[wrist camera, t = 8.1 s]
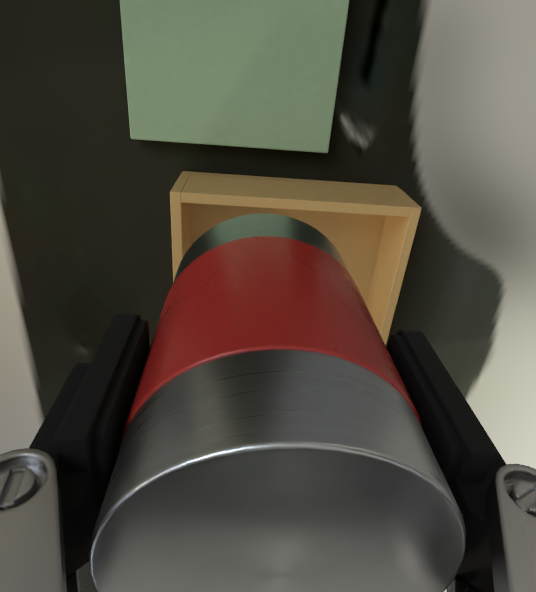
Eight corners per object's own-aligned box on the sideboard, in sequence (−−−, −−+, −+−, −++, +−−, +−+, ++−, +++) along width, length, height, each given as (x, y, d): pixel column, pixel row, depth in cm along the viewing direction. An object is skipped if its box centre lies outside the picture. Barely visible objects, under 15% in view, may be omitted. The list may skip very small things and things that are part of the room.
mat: (134, 136, 26) (130, 139, 25) (118, -73, 21) (112, -79, 20) (325, 150, 27) (328, 153, 26) (353, -49, 22) (357, -53, 21)
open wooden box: (186, 348, 34) (177, 388, 30) (182, 170, 27) (169, 191, 23) (358, 355, 35) (373, 395, 31) (397, 185, 28) (422, 207, 24)
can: (173, 361, 16) (103, 661, 8) (171, 203, 13) (54, 434, 5) (333, 369, 16) (413, 658, 9) (367, 219, 13) (536, 451, 6)
